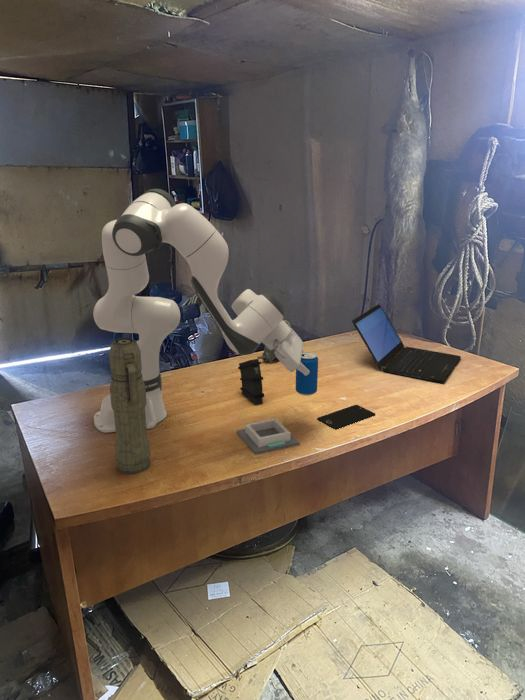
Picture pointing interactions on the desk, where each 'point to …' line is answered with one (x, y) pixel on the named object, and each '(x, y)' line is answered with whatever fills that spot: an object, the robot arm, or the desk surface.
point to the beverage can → (309, 382)
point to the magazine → (251, 381)
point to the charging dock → (267, 436)
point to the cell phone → (345, 416)
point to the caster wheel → (268, 355)
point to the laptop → (388, 344)
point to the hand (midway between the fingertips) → (308, 368)
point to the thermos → (129, 406)
